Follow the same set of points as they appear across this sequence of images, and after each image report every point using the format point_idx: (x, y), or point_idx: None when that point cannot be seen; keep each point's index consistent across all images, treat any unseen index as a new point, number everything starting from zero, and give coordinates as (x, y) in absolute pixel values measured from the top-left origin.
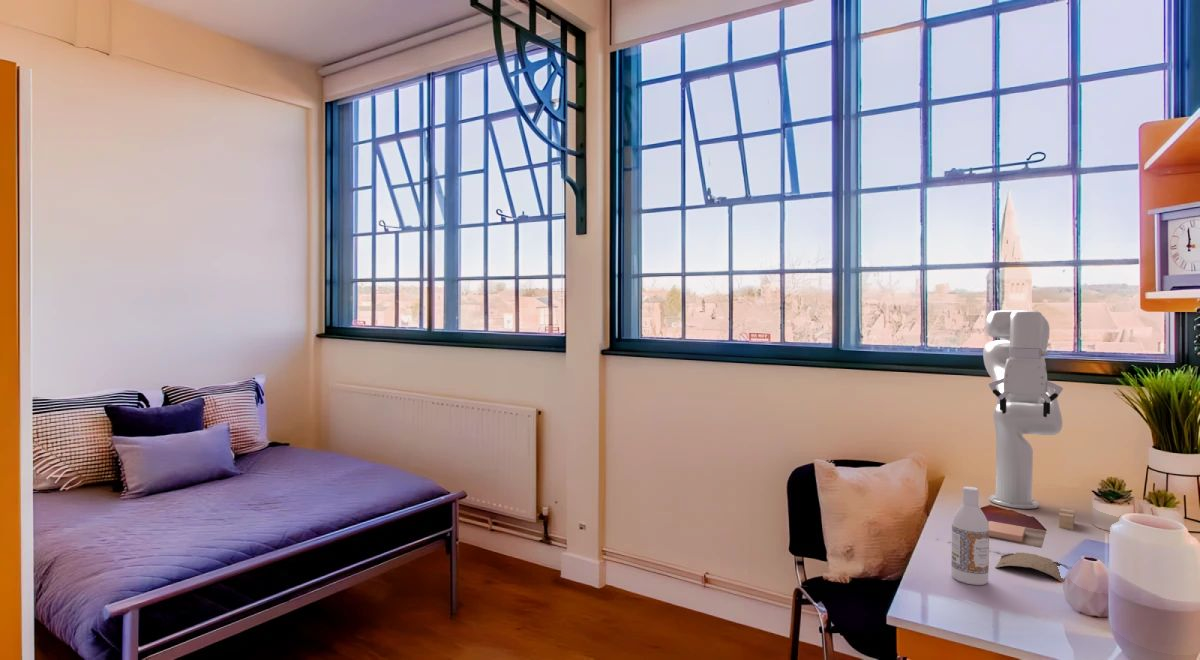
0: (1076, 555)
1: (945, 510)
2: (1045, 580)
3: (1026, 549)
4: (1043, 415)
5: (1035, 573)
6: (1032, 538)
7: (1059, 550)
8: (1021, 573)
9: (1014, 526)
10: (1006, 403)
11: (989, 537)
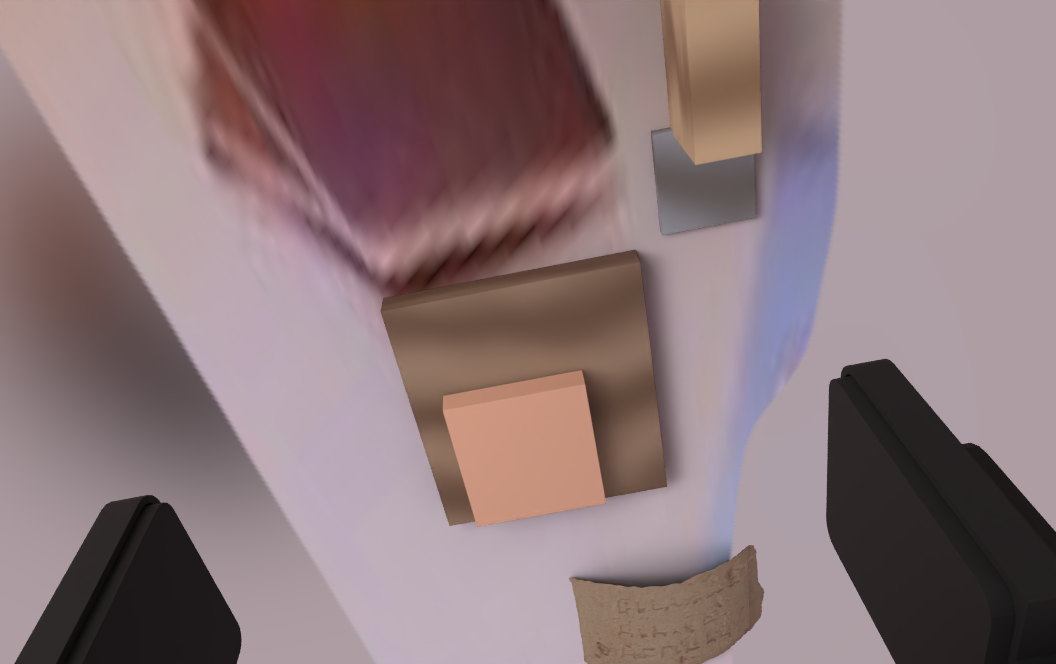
0: (763, 397)
1: (119, 185)
2: None
3: None
4: (838, 548)
5: None
6: (619, 412)
7: (707, 388)
8: None
9: (547, 408)
10: (84, 661)
11: None
